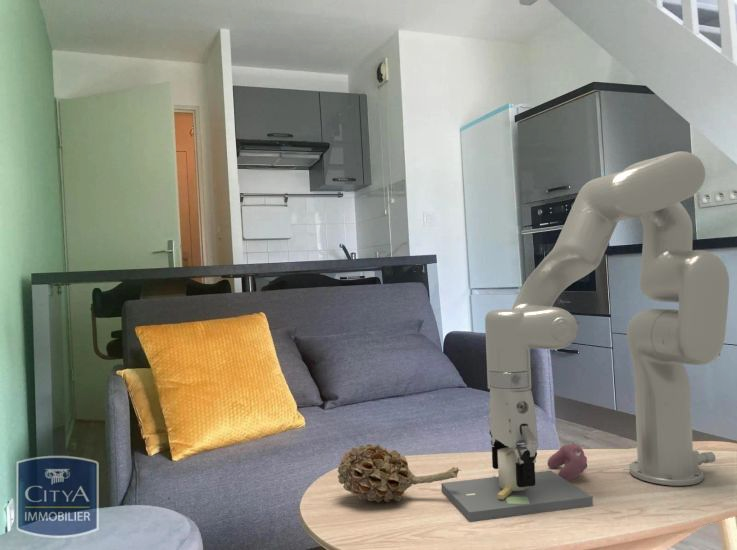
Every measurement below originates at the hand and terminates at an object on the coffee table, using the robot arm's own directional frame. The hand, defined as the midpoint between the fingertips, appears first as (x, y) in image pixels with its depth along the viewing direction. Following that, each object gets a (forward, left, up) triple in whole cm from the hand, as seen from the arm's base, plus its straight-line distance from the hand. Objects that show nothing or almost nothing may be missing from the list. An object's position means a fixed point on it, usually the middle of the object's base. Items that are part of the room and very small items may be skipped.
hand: (513, 476), depth 104 cm
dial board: (0, 0, -4) cm, 4 cm away
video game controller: (-15, -8, -4) cm, 17 cm away
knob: (+1, +1, -2) cm, 3 cm away
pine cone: (+19, -5, -4) cm, 20 cm away
